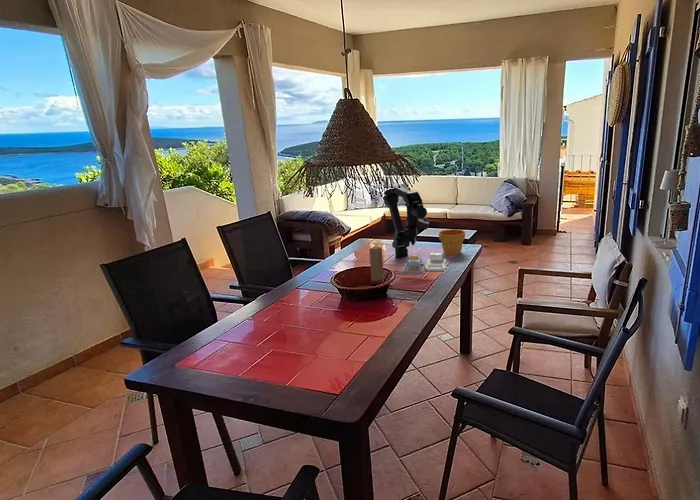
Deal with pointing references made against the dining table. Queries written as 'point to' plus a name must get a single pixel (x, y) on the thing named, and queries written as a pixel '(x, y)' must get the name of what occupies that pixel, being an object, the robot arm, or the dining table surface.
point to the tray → (414, 271)
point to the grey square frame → (418, 258)
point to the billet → (414, 264)
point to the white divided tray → (435, 265)
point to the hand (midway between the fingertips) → (413, 244)
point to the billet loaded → (436, 257)
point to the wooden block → (376, 264)
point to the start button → (414, 257)
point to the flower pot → (452, 241)
